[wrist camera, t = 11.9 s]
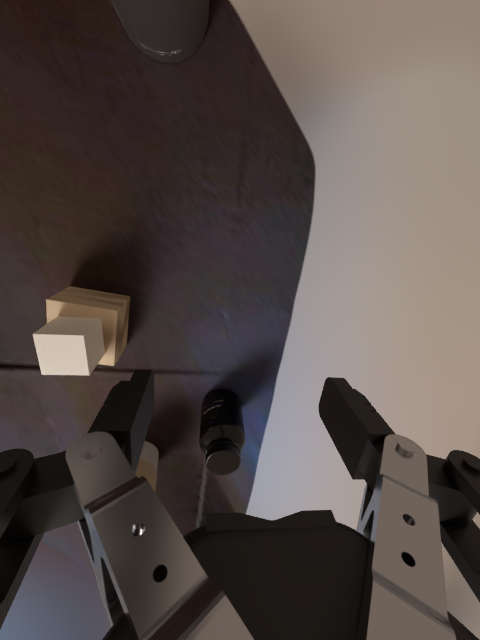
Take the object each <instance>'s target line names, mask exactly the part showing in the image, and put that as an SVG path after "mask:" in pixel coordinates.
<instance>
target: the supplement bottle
mask: <svg viewBox="0 0 480 640" xmlns="http://www.w3.org/2000/svg"><path fill="white" fill-rule="evenodd" d="M199 442H200V447H201V449H202V451H203V452H204V454H205V457H206V462H205V463H206V467H207V469H208V470H209V471H210V472H211V473H213V474H216V475H227V474H230V473H233V472H234V471H236V470H237V469H238V467H239V465H240V462H241V459H240V454H241V453H240V452H241V450H242V449H243V447H244V444H245V432H244V424H243V416H242V408H241V402H240V399H239V398H238V396H237V395H236V394H235V393H233V392H232V391H229V390H224V389H220V390H215V391H212V392H211V393H209V394H208V395H207V396H206V397H205V398H204V400H203V402H202V409H201V424H200V439H199Z"/></svg>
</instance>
